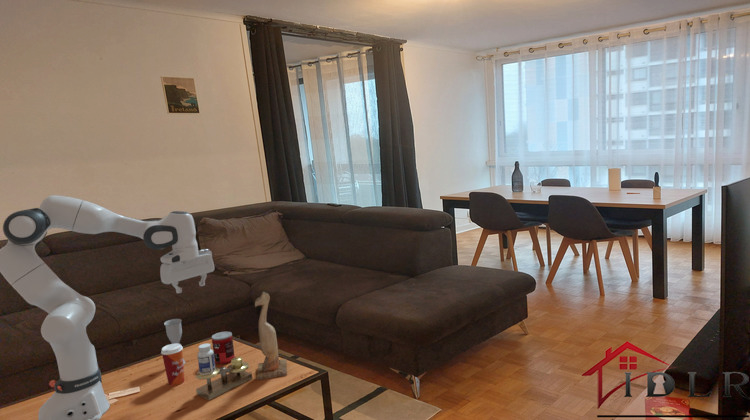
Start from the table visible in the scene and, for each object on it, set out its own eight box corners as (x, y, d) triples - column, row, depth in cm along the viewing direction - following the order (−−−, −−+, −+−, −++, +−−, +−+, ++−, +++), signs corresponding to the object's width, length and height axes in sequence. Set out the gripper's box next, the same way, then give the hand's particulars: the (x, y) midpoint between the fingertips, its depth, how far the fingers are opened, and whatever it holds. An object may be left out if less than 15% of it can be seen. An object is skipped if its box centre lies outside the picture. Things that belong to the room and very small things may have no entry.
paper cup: (179, 387, 179) (174, 351, 177) (161, 386, 181) (155, 351, 179) (191, 377, 187) (186, 342, 185) (173, 376, 188) (168, 342, 186)
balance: (206, 401, 167) (203, 379, 166) (194, 395, 172) (191, 374, 171) (254, 377, 182) (252, 357, 181) (241, 372, 187) (239, 352, 186)
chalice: (169, 362, 202) (163, 321, 200) (187, 358, 205) (181, 317, 202) (170, 369, 195) (164, 326, 193) (188, 364, 198) (182, 322, 196)
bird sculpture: (256, 369, 190) (244, 290, 185) (286, 362, 193) (275, 285, 188) (257, 382, 179) (244, 299, 174) (289, 374, 182) (277, 293, 177)
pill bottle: (209, 367, 175) (205, 341, 174) (218, 370, 172) (215, 343, 171) (196, 373, 171) (193, 347, 169) (206, 376, 168) (202, 349, 166)
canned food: (214, 358, 202) (211, 333, 200) (234, 354, 204) (231, 329, 203) (214, 366, 195) (211, 340, 193) (235, 362, 197) (232, 336, 196)
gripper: (206, 247, 192) (210, 281, 194) (155, 259, 177) (161, 295, 178) (215, 248, 188) (219, 282, 190) (164, 260, 172) (169, 298, 174)
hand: (191, 289), depth 184 cm, fingers open, 8 cm apart
